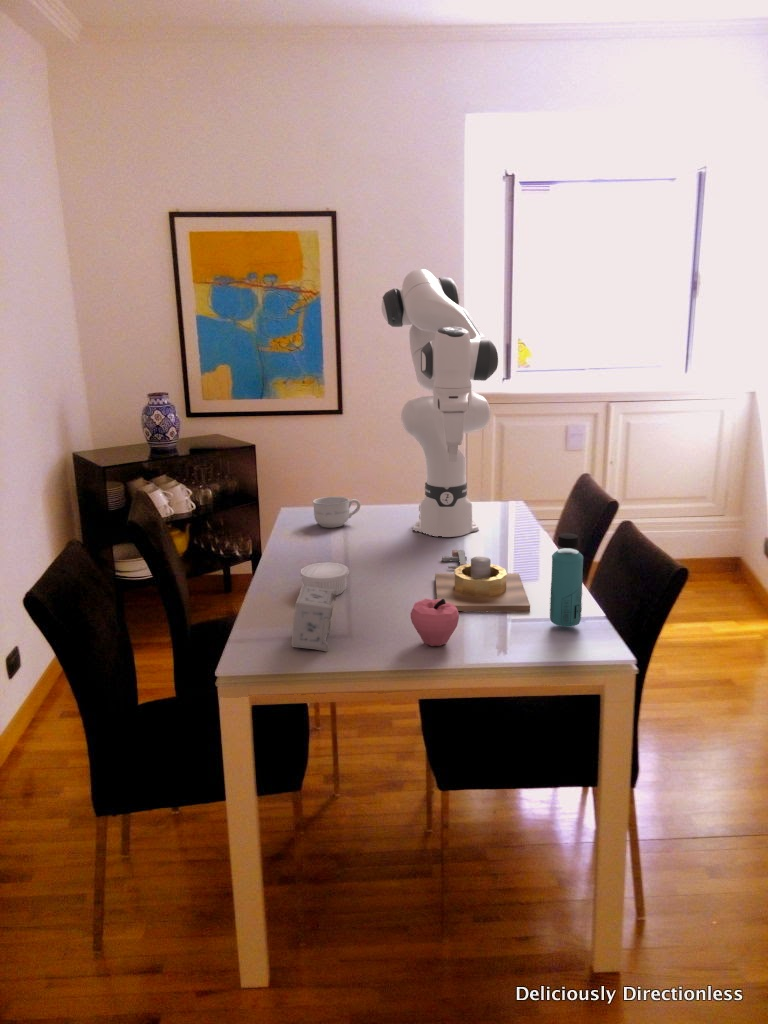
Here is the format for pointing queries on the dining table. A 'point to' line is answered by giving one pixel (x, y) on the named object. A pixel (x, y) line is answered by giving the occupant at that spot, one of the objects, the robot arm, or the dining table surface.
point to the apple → (434, 620)
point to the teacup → (333, 511)
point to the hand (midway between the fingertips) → (451, 457)
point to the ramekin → (325, 576)
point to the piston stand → (506, 602)
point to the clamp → (456, 558)
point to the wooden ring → (480, 582)
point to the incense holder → (312, 618)
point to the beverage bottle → (566, 582)
